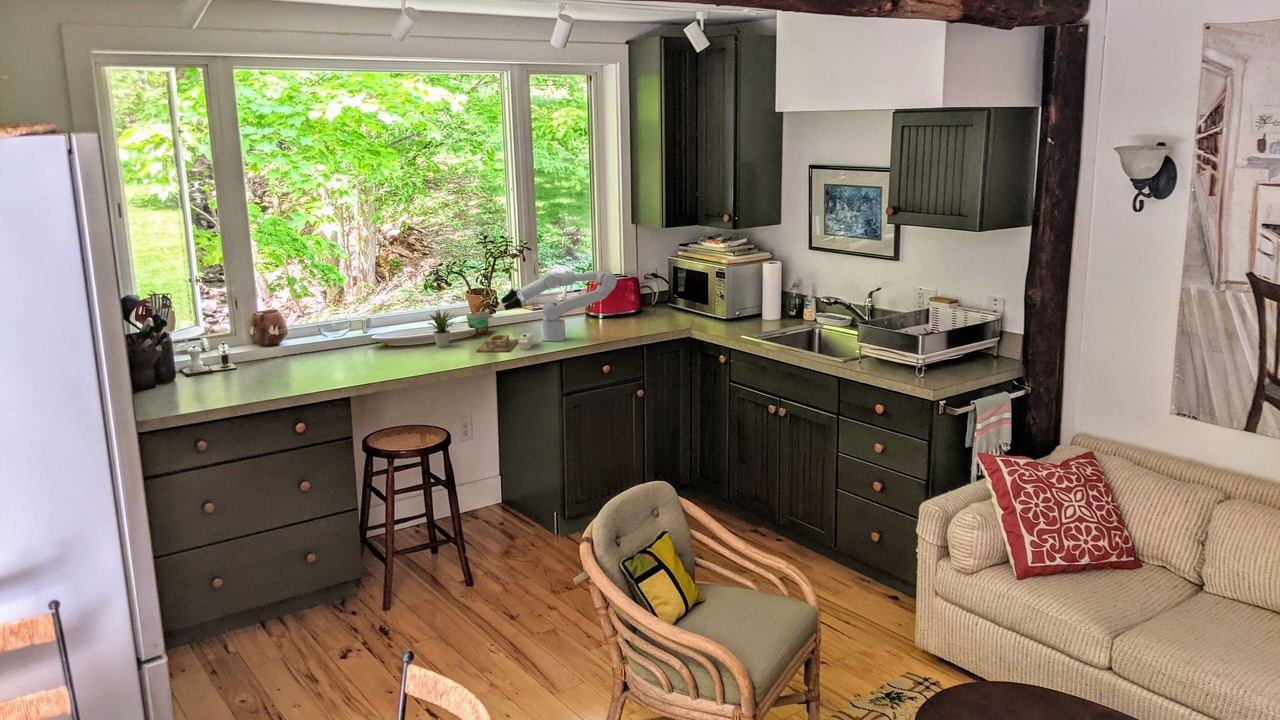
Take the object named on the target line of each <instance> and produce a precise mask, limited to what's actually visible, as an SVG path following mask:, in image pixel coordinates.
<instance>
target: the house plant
mask: <svg viewBox="0 0 1280 720" xmlns="http://www.w3.org/2000/svg"><path fill="white" fill-rule="evenodd" d="M447 311H448V308H447V309H446V310H445V311H444V312H443V315H442V314H441V311H440V308H438V310H435V313H433V314H434V315H432V314H428V315H429V317H430V318H431V319H432V320H433V322H434V323H435V324H434V323H432V322H428V323H426V324H427V325H430V326H433V330H434V331H433V337H434V340H435V344H436V347H437V348H447V347H449V346H450V337H451V330H449V329H448V328H449V327H451V328H453V325H455V322H456V320H454V321H450V320H453V319H456V318H458V316H456V317H455V315H456V314H457V312H454V313H452V314H450V313H451V312H452V310H449V311H448V312H447ZM448 321H449V322H448ZM435 329H436V330H435Z"/></svg>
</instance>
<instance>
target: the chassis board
mask: <svg viewBox="0 0 1280 720" xmlns="http://www.w3.org/2000/svg"><path fill="white" fill-rule="evenodd" d="M518 341H519V338H516V339H515V338H511V339H510V334H492V335H491V336H489V337H488V338H487V339H486V340H484V342H483V343H482V344H481V345H480V346H479V347H478V348H477V349H476V350H475V352H476V353H510V352H511V351H512V350H513V349H514V348H515V346H516V345H517V344H519V343H518ZM513 347H514V348H513Z"/></svg>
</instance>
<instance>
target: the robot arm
mask: <svg viewBox="0 0 1280 720" xmlns="http://www.w3.org/2000/svg"><path fill="white" fill-rule="evenodd" d="M588 281H594V282H596V283H598V284H597V286H596V289H595V290H594V289H593V290H592V291H588V292H586V293H583V294H580V295H577V296H574V297H571V298H568V299H565V300H561V301H555V302H552V301H551V302H546V303H545V304H543V306H542V314H543V315H544V316H543V318H542V329H543V338H542V339H541V342H563V341H565V339H566V337H567V336H566V322H565V319H561V318H560V317H561V316H563V315H565V313H568V312H571V311H573V310H576V309H579V308H583V307H585V306H588V305H592V304H594V303H597V302H600V301H602V300H603V301H604V300H605V299H606V298H607V297H608V296H609V295H610V293H611V292H612V291H613V290H614V289H615V288H616V285H617V282H618V279H617V276H615V274H613V273H612V272H611V271H609V270H593V271H588V272H581V273H573V272H572V271H569V270H565V272H556V271H555V272H554V274H553V273H545V274H544V275H543V276H542V277H541V278H539V279H536V280H535V281H532V282H531V283H529V284H526V285H525V286H523V287H521V288H519V286H517V287H516V288H515V289H514V288H513V287H512V288H510V290H509V292H508V293H506V295H504V296H503V297H501V299H500V301H501V302H502V304H503V307H504V309H505V311H507V310H508V311H509V310H512V309H522V308H523V305H525V304H527V301H528V300H530V299H532V298H534V297H535V296H536V297H537V296H538V295H539V294H542V293H544V292H545V291H547V290H549V289H556V287H565V286H573V285H574V284H575V283H577V282H588Z"/></svg>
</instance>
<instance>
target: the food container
mask: <svg viewBox="0 0 1280 720" xmlns="http://www.w3.org/2000/svg"><path fill="white" fill-rule="evenodd" d="M490 315H491V314H490V310H489V309H488V308H484V310H482V311H476V312H473V313H469V312H468V313H466V315H465V316H466V317H465V318H466V319H467V324H468V325H467V326H468V328H469V327H470V328H475V329H476V333H475V335H474V336H482V335H487V334H488V333H489V316H490Z"/></svg>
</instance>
